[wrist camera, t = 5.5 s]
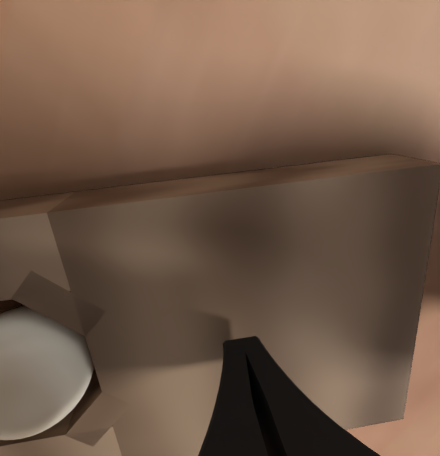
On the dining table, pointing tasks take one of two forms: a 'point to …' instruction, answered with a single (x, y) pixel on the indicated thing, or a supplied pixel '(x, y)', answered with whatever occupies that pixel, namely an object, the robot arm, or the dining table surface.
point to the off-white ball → (39, 372)
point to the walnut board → (226, 293)
